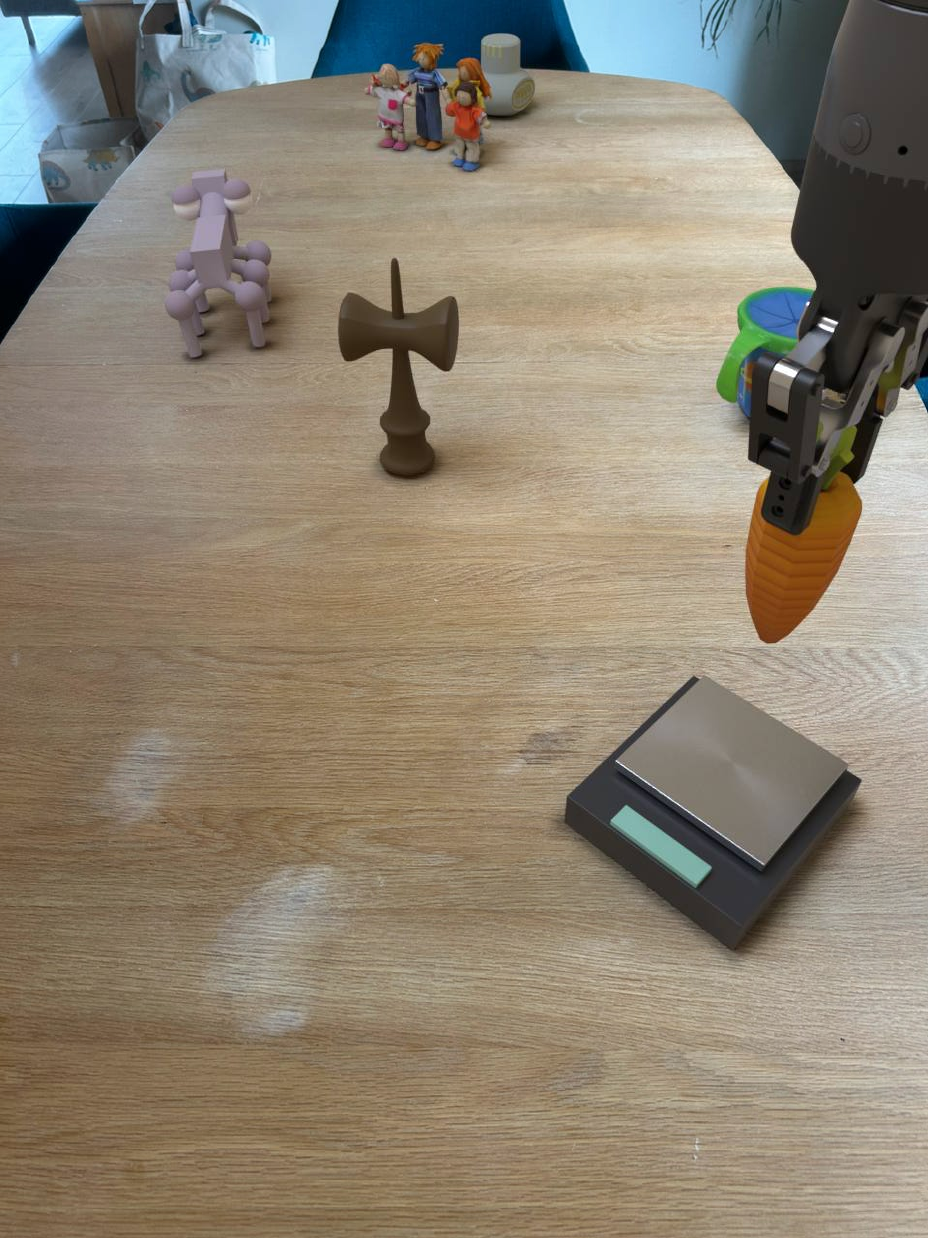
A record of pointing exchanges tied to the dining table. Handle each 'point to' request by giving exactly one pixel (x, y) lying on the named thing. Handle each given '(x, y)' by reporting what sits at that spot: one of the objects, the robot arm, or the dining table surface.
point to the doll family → (434, 104)
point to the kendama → (401, 364)
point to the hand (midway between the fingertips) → (812, 497)
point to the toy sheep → (217, 256)
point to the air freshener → (505, 75)
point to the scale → (692, 844)
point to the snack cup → (760, 337)
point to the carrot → (800, 551)
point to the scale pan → (732, 770)
